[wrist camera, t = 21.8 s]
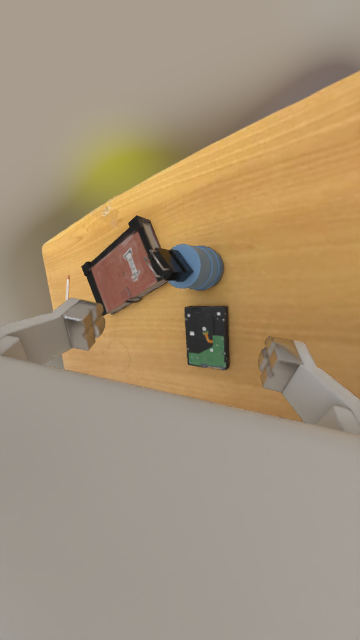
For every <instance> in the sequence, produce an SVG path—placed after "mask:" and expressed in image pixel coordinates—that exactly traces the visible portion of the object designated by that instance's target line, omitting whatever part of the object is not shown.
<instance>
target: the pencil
mask: <svg viewBox="0 0 360 640" xmlns="http://www.w3.org/2000/svg"><path fill="white" fill-rule="evenodd" d="M68 295H69V275H68V278H67V290H66V301H67V300H68Z"/></svg>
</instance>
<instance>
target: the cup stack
mask: <svg viewBox="0 0 360 640" xmlns="http://www.w3.org/2000/svg"><path fill="white" fill-rule="evenodd" d="M172 249H174V250H178V251H179V252H180V253H181V255H182V256H183V257H184V259H185V260H186V262H187V263H188V264H189V266H190V267H191V268H192V270H193V271H194V272H193V273H192V274H191V275H190V276H189V277H188V278H187V279H186V280H185V281H184V282H176V281H168V282H169V283H170V284H171V285H173V286H174V287H176V288H190V289H194V290H205V289H208V288H211V287H213V286H214V285H216V284H217V283H218V282H219V281H220V279H221V277H222V274H223V261H222V259H221V257H220V255H219V254H218V253H217V252H215V251H214V250H212V249H211V248H209V247H206V246H190V245H186V244H180V245H176V246H175V247H173V248H172Z"/></svg>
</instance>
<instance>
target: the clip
mask: <svg viewBox="0 0 360 640" xmlns="http://www.w3.org/2000/svg"><path fill="white" fill-rule="evenodd" d="M149 251H150V253H151V254H150V256H149V257H144V260H145V261H146V262H147V264H148V265H149V267H150V268H151V270H152V271H153V273H154V274H155V276H156V277H163V279H164V280H165V281H176V282H184V281H185V280H186V279H187V278H188V277H189V276H190V275H191V274H192V273H193V272H194V271H193V270H192V268H191V267H190V266H189V264H188V263H187V262H186V260H185V259H184V257H183V256H182V255H181V253H180V252H179V251H178V250H174V249H171V250H166V249H161V248H155V250H149ZM147 259H150V260H151V261H152V263H153V264H154V266H155V267H156V268H157V270H158V271H159V273H160V274H161V275H157V274H156V272H155V271H154V269H153V268H152V266H151V265H150V264H149V262H148V261H147Z"/></svg>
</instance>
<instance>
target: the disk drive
mask: <svg viewBox="0 0 360 640" xmlns="http://www.w3.org/2000/svg"><path fill="white" fill-rule="evenodd" d="M227 308H228V307H227V306H189V307H185V326H186V344H187V358H188V365H193V366H199V367H204V368H207V367H208V368H213V369H220V370H221V369H222V370H227V369H228V368H229V337H228V309H227Z"/></svg>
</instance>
